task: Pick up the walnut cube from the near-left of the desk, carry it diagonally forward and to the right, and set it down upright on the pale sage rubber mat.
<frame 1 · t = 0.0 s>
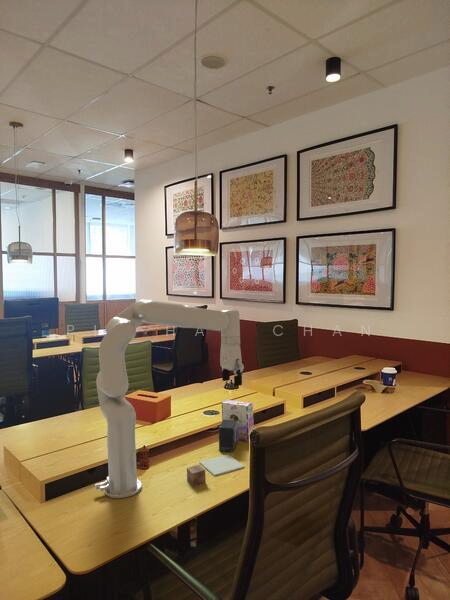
hand: (232, 382, 163), 31 cm above the table, fingers open, 9 cm apart
small box: (228, 447, 177), on the table
cube: (196, 482, 146), on the table
mat: (221, 465, 159), on the table
candy box: (238, 438, 187), on the table
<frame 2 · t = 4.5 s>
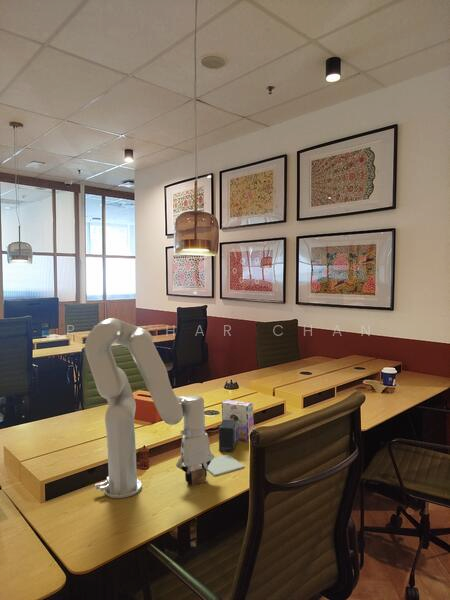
hand: (196, 480, 146), 1 cm above the table, fingers closed on cube, 5 cm apart
cube: (196, 482, 146), on the table, touching gripper
everything else where it was.
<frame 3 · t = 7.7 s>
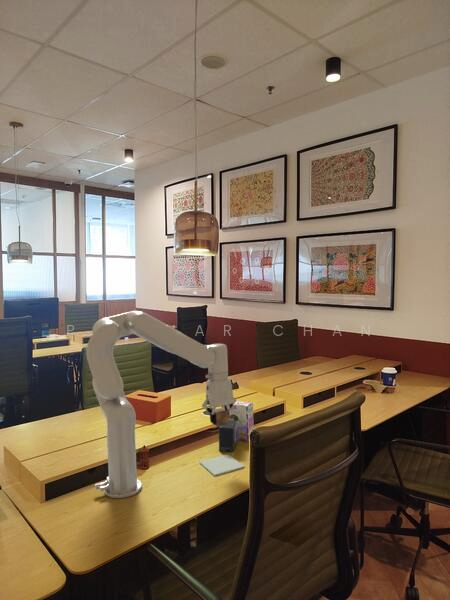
hand: (220, 421, 158), 17 cm above the table, fingers closed on cube, 5 cm apart
cube: (220, 423, 158), point 17 cm above the table, touching gripper
everything else where it was.
when the fingers open (3 cm above the table, at t = 11.1 s): cube drops 2 cm, resting on mat.
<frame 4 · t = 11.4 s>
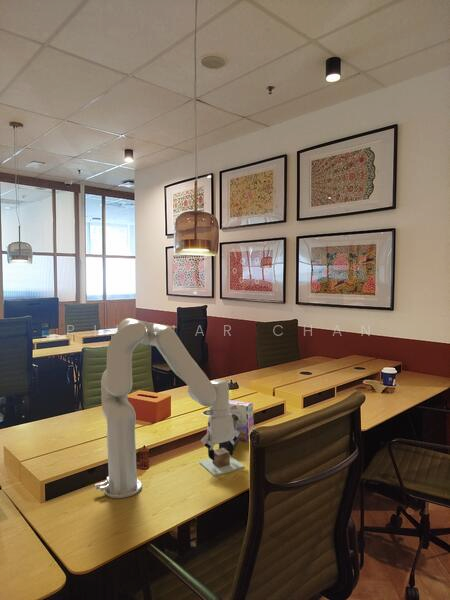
hand: (221, 456, 159), 4 cm above the table, fingers open, 7 cm apart
cube: (221, 464, 159), point 1 cm above the table, touching mat
everything else where it was.
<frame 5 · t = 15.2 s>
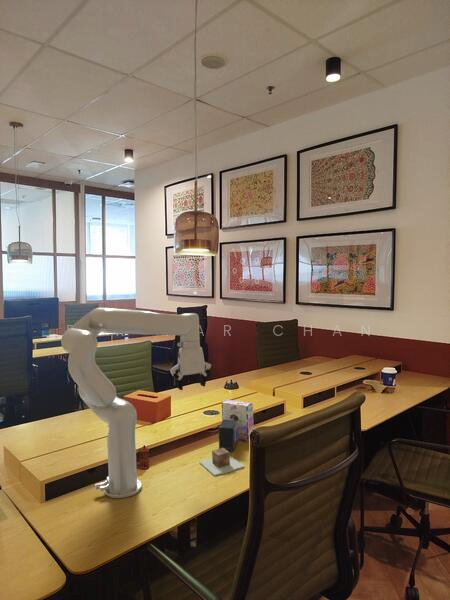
hand: (191, 387, 161), 30 cm above the table, fingers open, 9 cm apart
nothing on the table moved.
at the end: cube inside the target area on the mat (0.2 cm from its centre), point 0.6 cm above the mat's base; cube tilted 0°; the gripper is holding nothing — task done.
